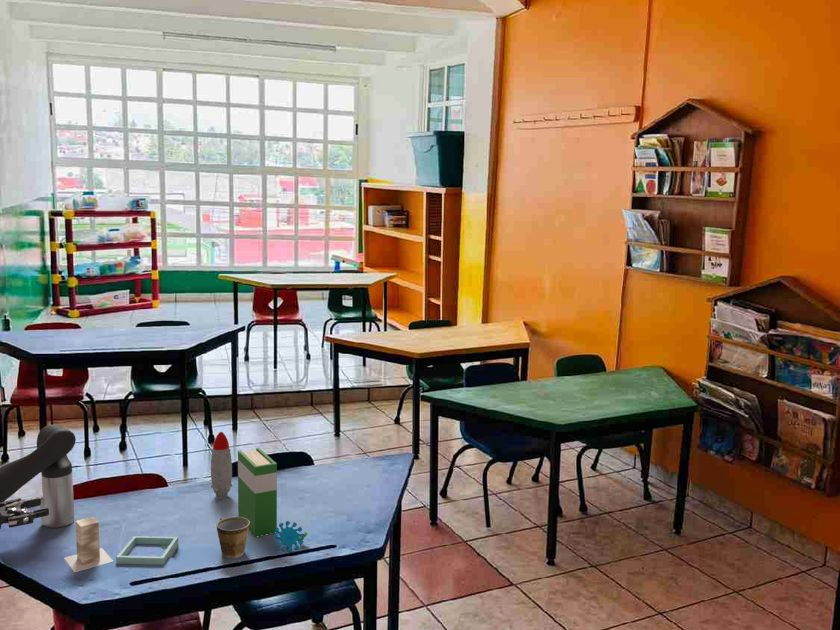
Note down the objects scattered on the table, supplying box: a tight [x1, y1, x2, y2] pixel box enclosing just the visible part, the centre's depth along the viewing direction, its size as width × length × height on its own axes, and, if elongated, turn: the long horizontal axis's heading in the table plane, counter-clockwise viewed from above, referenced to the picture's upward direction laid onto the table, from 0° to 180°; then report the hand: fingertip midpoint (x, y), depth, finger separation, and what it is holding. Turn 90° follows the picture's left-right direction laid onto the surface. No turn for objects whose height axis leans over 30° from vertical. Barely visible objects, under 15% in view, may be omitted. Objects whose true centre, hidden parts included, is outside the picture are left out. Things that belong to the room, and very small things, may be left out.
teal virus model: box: [272, 520, 308, 553], centre depth 236 cm, size 11×6×10 cm
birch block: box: [75, 516, 101, 565], centre depth 220 cm, size 5×5×12 cm
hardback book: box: [237, 447, 278, 538], centre depth 249 cm, size 18×7×24 cm, turn 31°
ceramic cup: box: [216, 516, 250, 559], centre depth 231 cm, size 13×10×10 cm
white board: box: [63, 547, 114, 573], centre depth 221 cm, size 11×11×2 cm
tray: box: [115, 535, 179, 566], centre depth 226 cm, size 14×14×4 cm
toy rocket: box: [210, 431, 233, 500], centre depth 272 cm, size 8×8×25 cm
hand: (44, 506), depth 210 cm, fingers open, 8 cm apart
